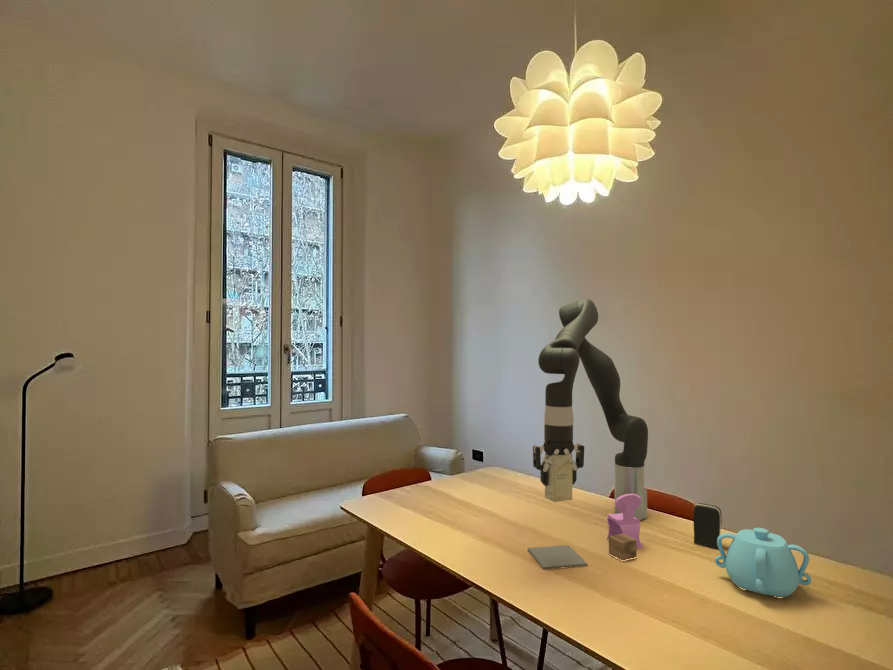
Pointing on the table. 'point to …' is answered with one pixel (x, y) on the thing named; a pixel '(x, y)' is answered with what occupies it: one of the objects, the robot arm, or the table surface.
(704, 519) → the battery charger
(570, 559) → the coaster
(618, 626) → the table surface
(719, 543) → the decorative pot
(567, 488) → the skincare box
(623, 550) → the walnut block
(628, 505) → the toy chair
